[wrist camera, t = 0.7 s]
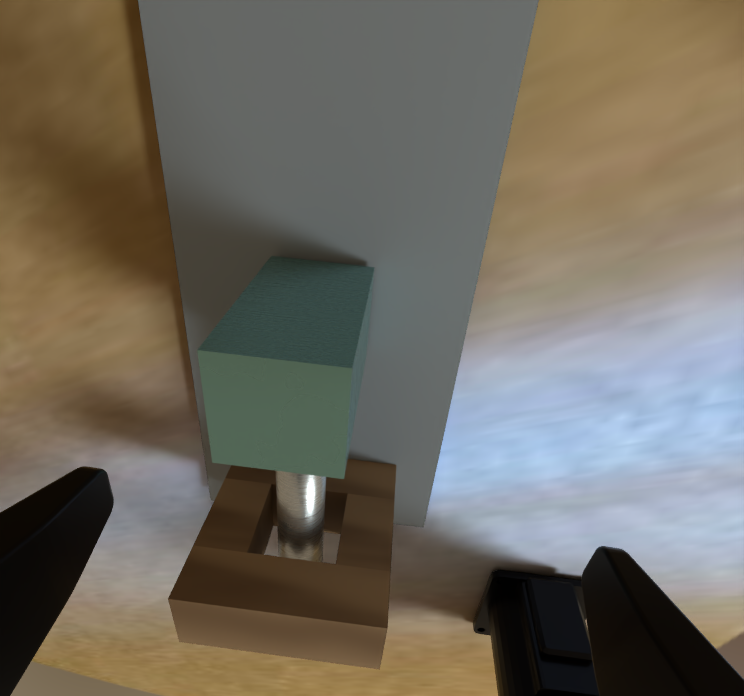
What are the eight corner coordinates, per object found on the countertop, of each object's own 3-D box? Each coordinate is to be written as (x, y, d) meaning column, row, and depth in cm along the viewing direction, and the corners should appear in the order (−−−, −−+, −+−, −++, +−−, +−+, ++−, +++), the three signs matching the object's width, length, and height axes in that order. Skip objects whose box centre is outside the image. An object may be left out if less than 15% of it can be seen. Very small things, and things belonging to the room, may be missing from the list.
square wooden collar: (390, 504, 25) (379, 669, 18) (244, 486, 25) (179, 641, 18) (396, 464, 23) (387, 628, 17) (240, 445, 24) (168, 599, 17)
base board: (423, 515, 26) (423, 527, 26) (216, 489, 27) (210, 500, 26) (536, -16, 14) (542, -20, 13) (143, -52, 14) (129, -58, 13)
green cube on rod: (349, 545, 27) (328, 684, 21) (280, 536, 27) (240, 671, 21) (374, 267, 18) (352, 368, 12) (271, 255, 18) (196, 349, 12)
